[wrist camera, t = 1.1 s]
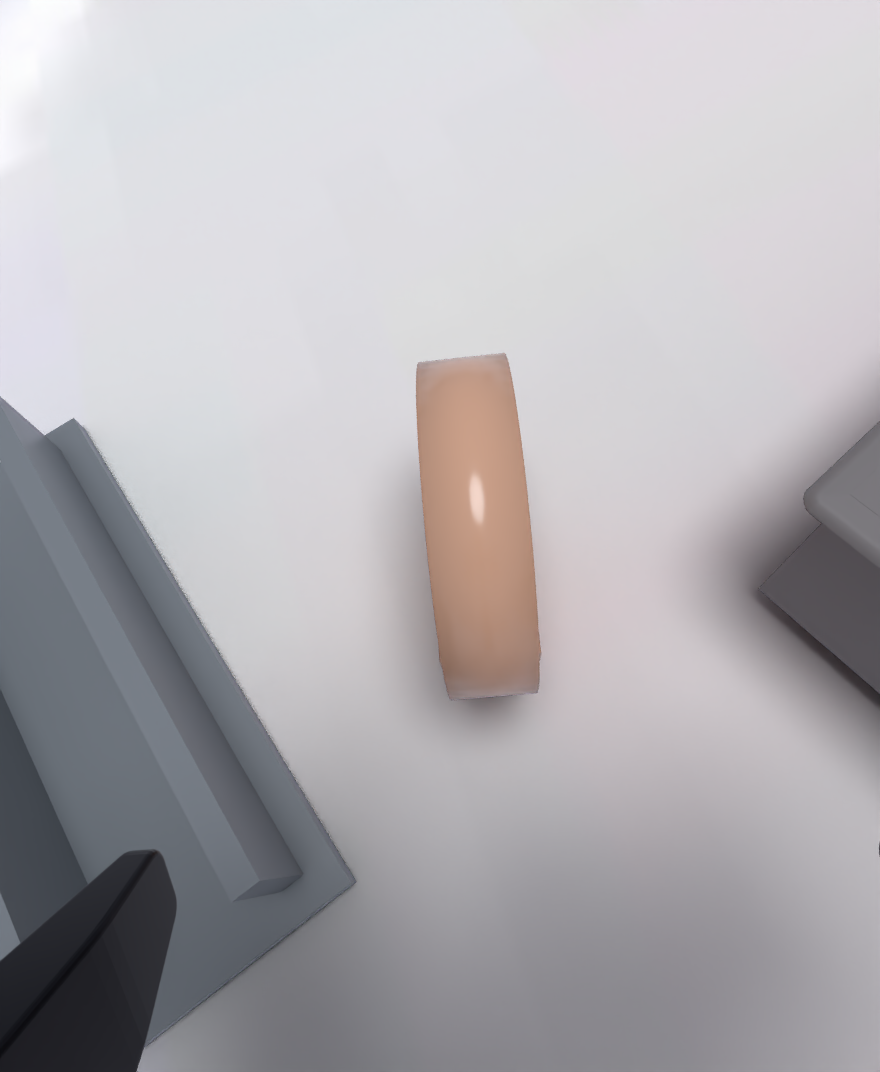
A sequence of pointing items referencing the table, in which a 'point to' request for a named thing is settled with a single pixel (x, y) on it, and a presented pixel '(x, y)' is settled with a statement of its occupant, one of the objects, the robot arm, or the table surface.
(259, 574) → the table surface
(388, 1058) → the table surface
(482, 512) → the peach disc
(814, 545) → the organizer tray
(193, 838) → the dish rack
